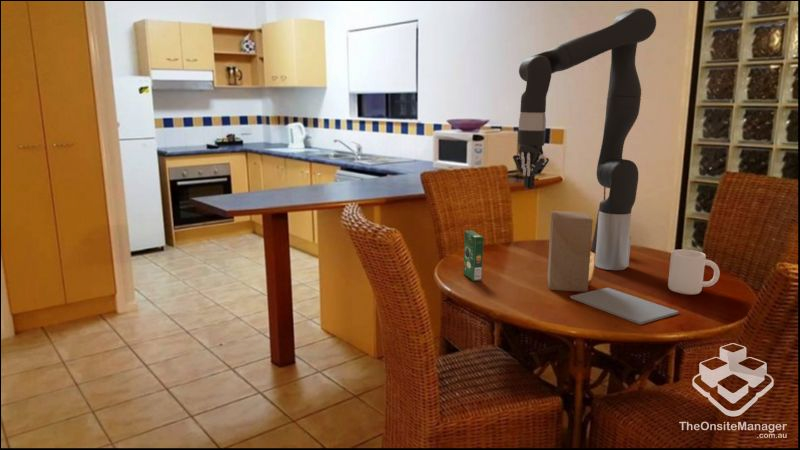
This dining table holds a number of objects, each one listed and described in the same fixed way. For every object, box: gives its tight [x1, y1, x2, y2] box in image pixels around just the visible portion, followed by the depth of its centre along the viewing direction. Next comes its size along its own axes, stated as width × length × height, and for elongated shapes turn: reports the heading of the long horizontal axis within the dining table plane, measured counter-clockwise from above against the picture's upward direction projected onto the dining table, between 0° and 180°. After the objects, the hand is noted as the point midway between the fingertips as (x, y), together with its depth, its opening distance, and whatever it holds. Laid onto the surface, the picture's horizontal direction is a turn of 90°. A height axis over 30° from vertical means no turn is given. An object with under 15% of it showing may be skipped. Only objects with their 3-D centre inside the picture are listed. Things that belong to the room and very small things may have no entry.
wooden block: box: [547, 210, 594, 293], centre depth 156 cm, size 10×10×20 cm
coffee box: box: [462, 230, 485, 282], centre depth 164 cm, size 8×3×13 cm, turn 16°
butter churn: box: [591, 187, 607, 253], centre depth 192 cm, size 9×10×28 cm
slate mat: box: [569, 287, 680, 325], centre depth 143 cm, size 14×21×1 cm, turn 30°
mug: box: [667, 249, 721, 295], centre depth 153 cm, size 12×8×10 cm
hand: (528, 188), depth 168 cm, fingers closed
